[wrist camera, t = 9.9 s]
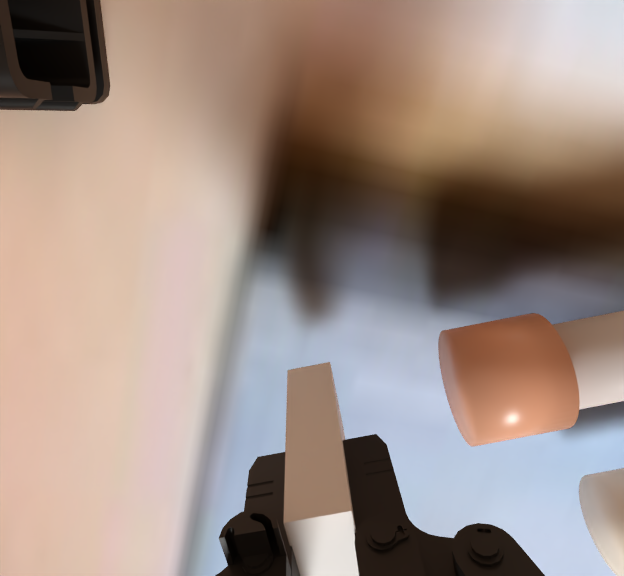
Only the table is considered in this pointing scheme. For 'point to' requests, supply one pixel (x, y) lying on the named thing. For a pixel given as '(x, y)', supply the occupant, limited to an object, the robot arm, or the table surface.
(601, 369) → the knob
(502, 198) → the table surface
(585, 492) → the knob
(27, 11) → the end cap
